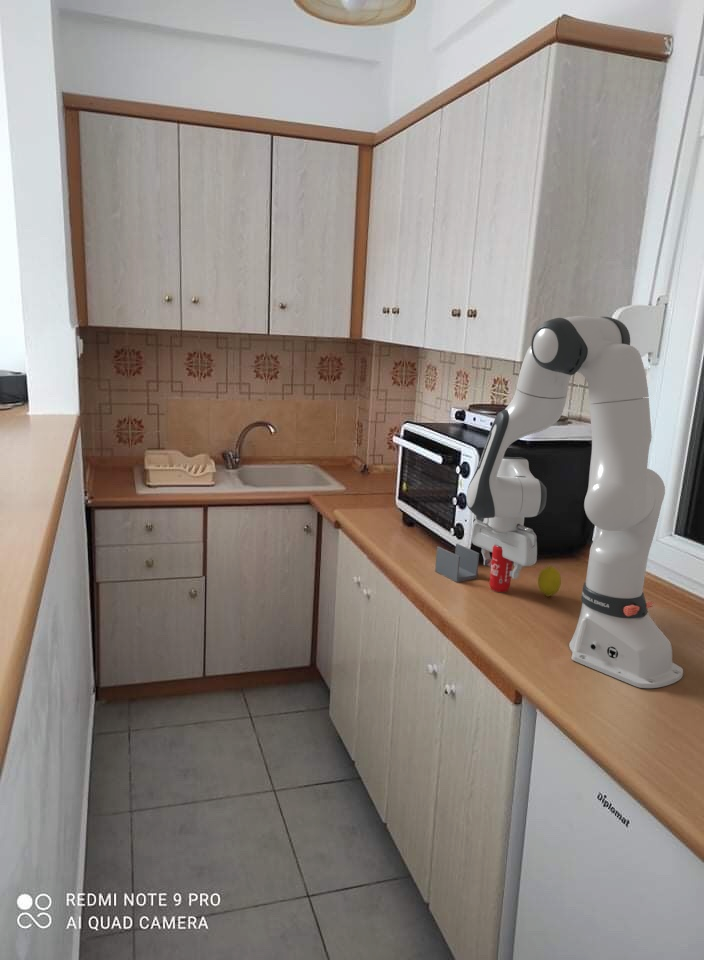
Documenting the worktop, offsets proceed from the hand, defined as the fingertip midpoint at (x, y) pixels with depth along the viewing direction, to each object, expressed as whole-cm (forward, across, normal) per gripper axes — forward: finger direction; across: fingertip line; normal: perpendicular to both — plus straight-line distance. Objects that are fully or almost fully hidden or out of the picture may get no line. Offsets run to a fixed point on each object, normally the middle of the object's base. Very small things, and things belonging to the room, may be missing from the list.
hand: (500, 571), depth 182 cm
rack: (+5, +13, +3) cm, 14 cm away
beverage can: (+5, 0, 0) cm, 5 cm away
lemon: (+5, -9, -8) cm, 13 cm away
